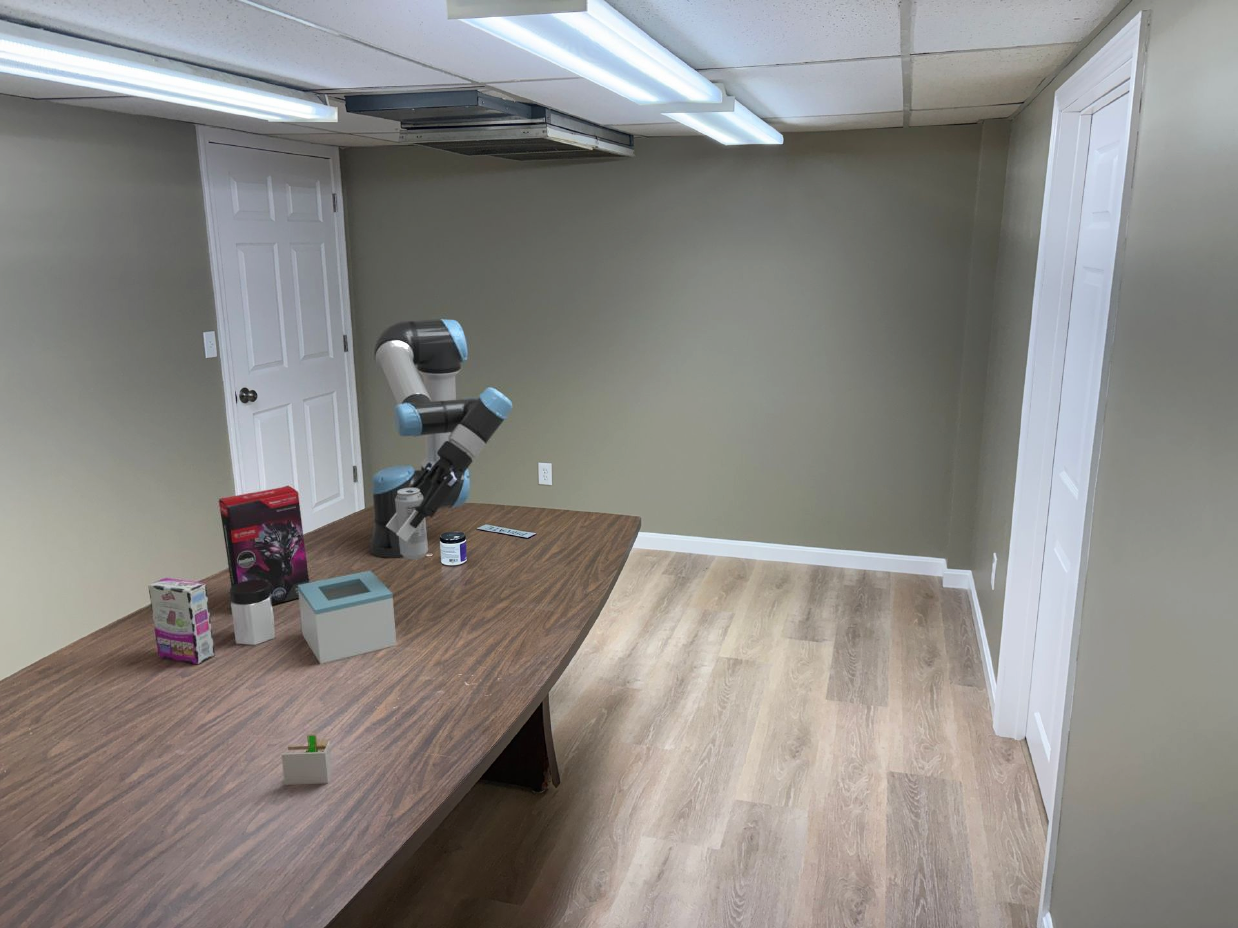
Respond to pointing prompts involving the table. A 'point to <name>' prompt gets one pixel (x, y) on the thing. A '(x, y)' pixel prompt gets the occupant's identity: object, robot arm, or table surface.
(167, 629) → the candy bar box
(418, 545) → the energy drink can
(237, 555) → the graphics card box
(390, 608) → the recycling box
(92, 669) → the table surface
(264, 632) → the jar
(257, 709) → the table surface
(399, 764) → the table surface
